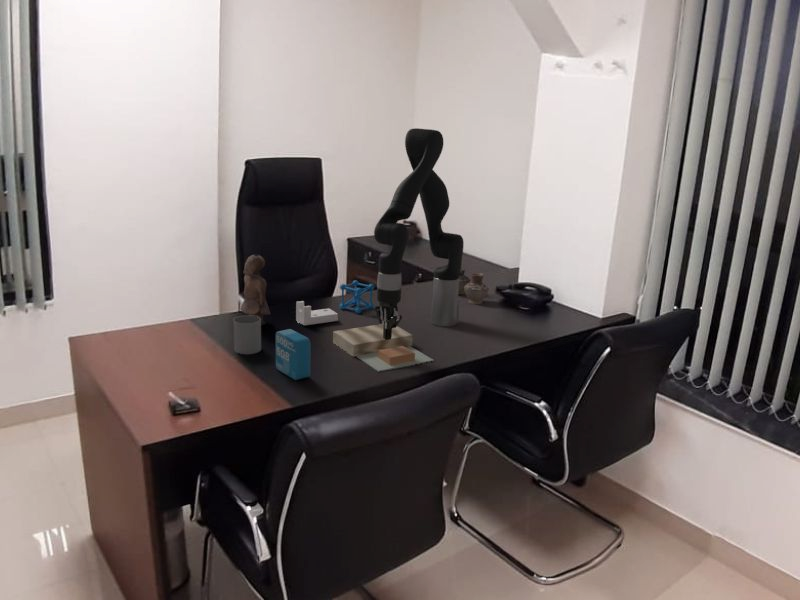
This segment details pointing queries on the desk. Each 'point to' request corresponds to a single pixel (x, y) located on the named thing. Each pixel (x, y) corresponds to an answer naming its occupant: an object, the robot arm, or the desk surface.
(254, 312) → the clay figurine
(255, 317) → the cup
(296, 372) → the data package
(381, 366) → the mat
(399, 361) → the tile
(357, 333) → the light wood flat block
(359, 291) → the molecular structure
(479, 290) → the pottery
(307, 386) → the desk surface
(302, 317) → the bracket
